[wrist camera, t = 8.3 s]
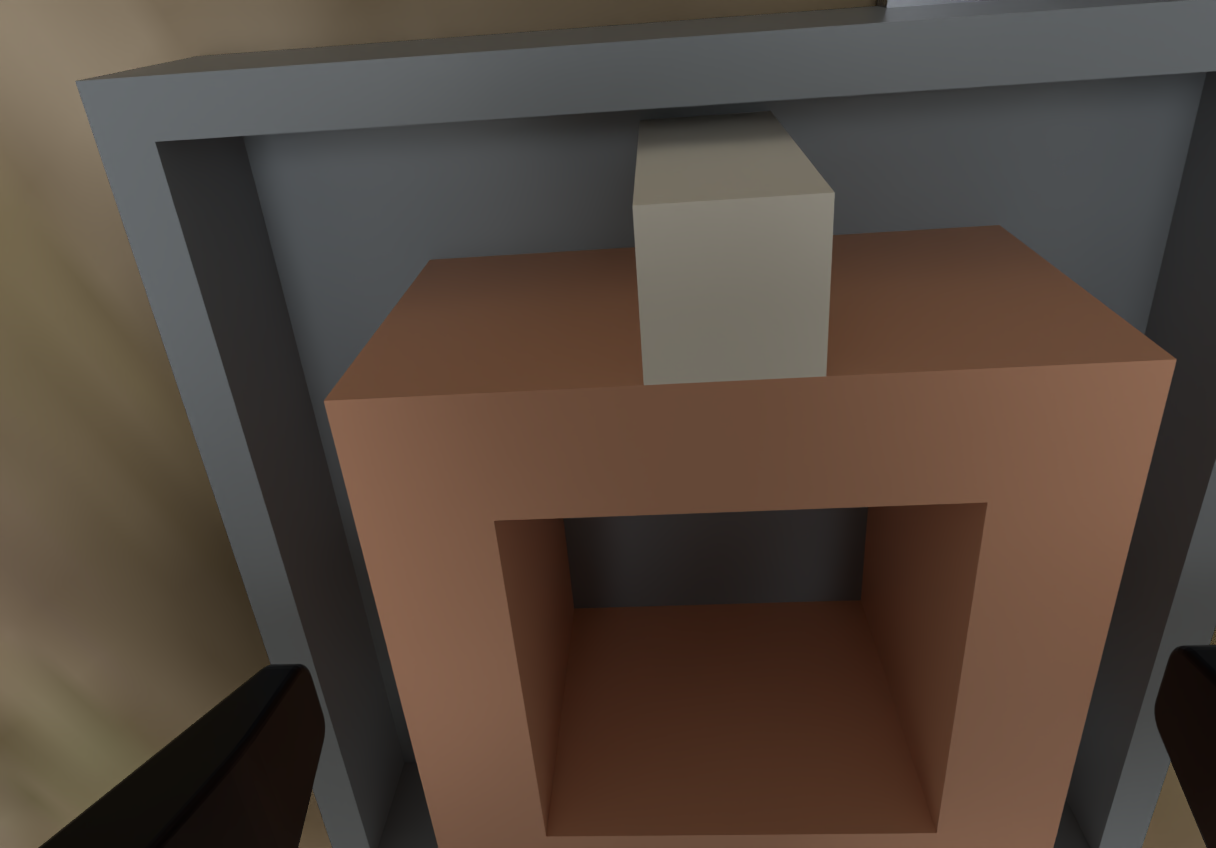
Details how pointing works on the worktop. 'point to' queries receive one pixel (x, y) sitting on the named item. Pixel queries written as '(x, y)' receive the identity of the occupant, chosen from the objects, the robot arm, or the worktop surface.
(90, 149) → the worktop surface
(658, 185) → the brown square frame
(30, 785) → the worktop surface
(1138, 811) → the tray
